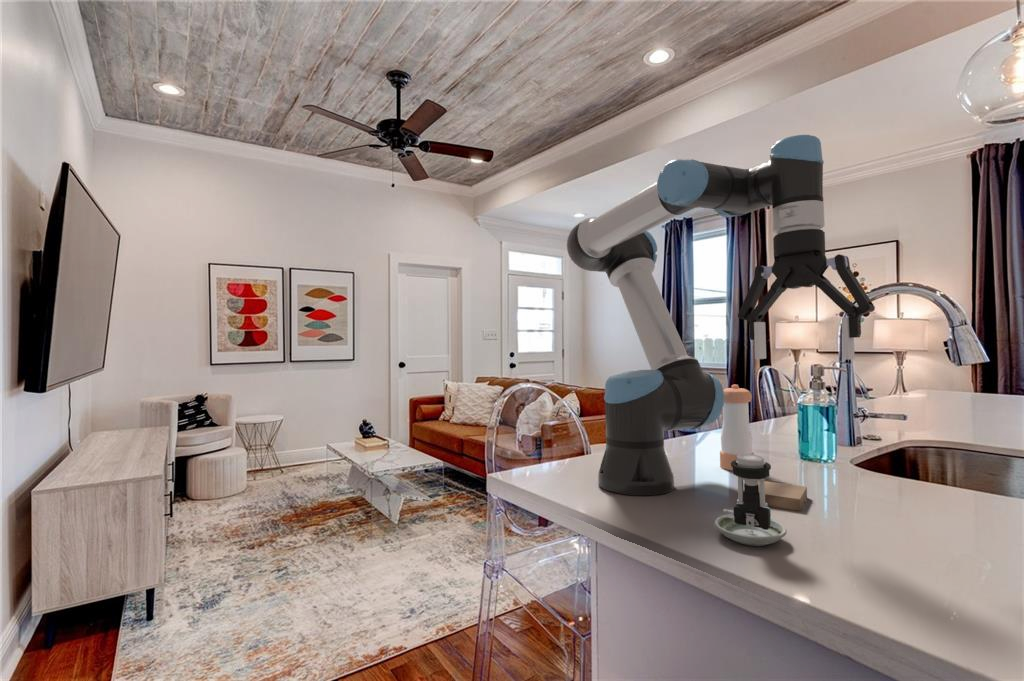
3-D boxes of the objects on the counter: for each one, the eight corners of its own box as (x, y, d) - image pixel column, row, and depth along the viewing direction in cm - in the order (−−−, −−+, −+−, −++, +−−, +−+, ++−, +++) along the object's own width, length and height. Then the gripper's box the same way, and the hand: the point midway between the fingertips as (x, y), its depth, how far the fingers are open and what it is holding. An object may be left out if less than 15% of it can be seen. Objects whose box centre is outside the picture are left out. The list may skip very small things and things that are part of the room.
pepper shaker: (744, 463, 121) (742, 383, 121) (760, 470, 114) (758, 385, 114) (714, 464, 121) (712, 383, 121) (729, 472, 113) (727, 386, 113)
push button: (719, 525, 75) (717, 458, 75) (727, 513, 80) (725, 450, 79) (769, 534, 71) (767, 464, 71) (775, 521, 76) (773, 455, 75)
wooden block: (743, 502, 92) (743, 491, 92) (754, 489, 99) (754, 479, 99) (800, 510, 87) (799, 499, 87) (807, 497, 94) (806, 486, 94)
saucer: (702, 531, 79) (702, 515, 79) (759, 526, 81) (759, 511, 81) (738, 556, 70) (738, 539, 70) (802, 551, 71) (802, 533, 71)
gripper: (716, 242, 92) (719, 359, 92) (880, 212, 73) (885, 360, 73) (736, 246, 97) (739, 357, 97) (895, 219, 78) (900, 358, 77)
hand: (802, 359), depth 85 cm, fingers open, 13 cm apart
